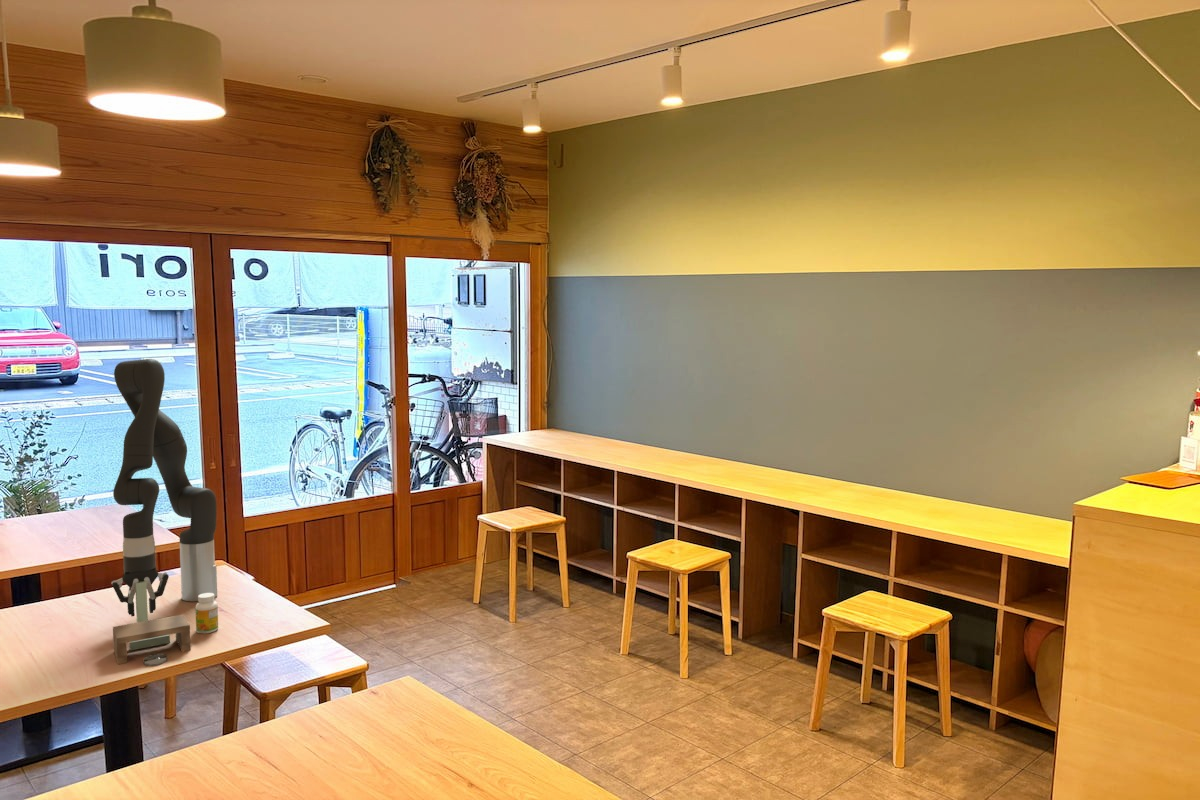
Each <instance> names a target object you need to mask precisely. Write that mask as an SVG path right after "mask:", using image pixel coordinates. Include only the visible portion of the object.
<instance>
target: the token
mask: <svg viewBox="0 0 1200 800" xmlns="http://www.w3.org/2000/svg"><path fill="white" fill-rule="evenodd" d="M167 660H168V655H166V654H165V653H154V654H150V655H147V656H145V657H144V658H143V665H145V666H146V667H154V666H159V665H162V664H164V663H166V662H167Z"/></svg>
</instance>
